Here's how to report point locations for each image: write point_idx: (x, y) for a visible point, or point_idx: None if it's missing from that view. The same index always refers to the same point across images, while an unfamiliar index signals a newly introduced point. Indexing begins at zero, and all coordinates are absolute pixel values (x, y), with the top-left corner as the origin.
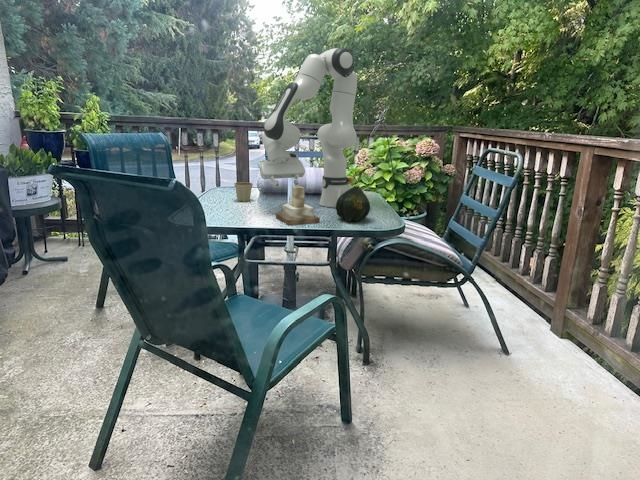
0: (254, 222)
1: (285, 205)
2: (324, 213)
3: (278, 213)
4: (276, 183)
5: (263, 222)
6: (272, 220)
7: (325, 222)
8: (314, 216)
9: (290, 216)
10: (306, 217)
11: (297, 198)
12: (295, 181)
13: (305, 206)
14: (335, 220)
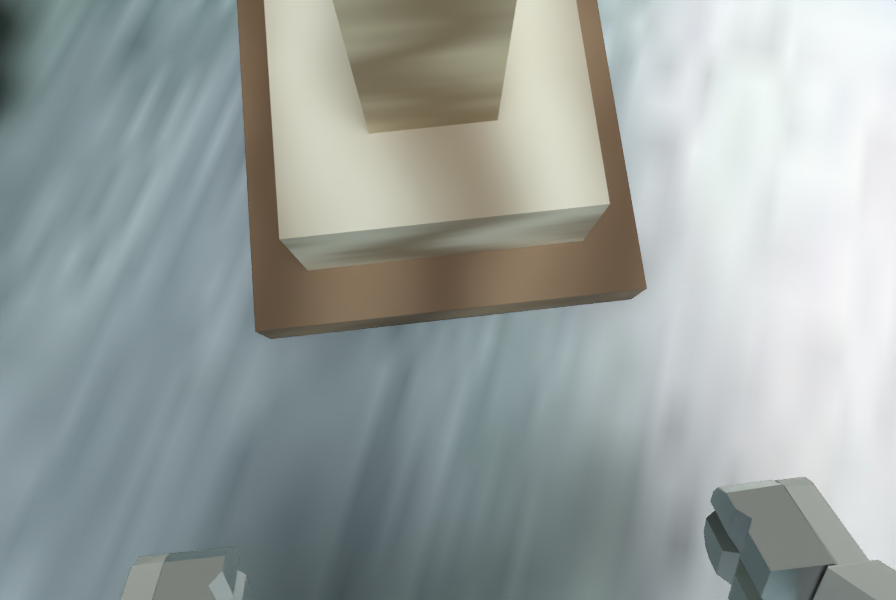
0: (879, 147)
1: (576, 139)
2: (8, 413)
3: (619, 268)
4: (786, 485)
5: (790, 130)
6: (687, 193)
7: (189, 17)
8: (262, 55)
9: None
10: None
11: None
12: (215, 595)
13: (332, 35)
14: (54, 72)
